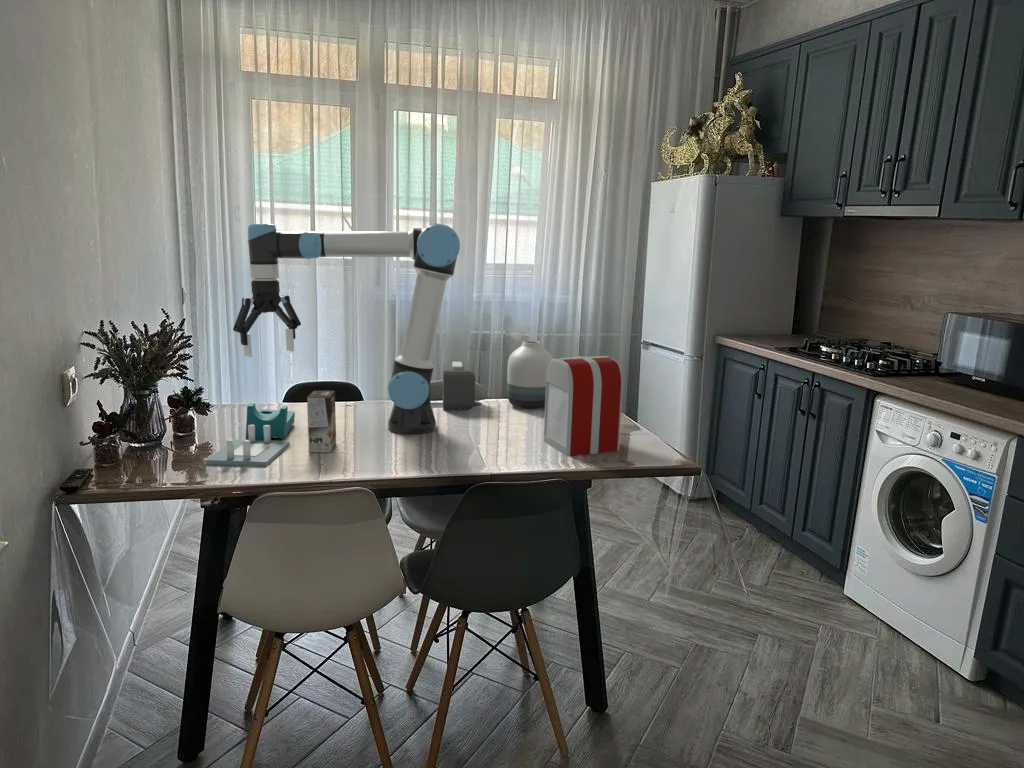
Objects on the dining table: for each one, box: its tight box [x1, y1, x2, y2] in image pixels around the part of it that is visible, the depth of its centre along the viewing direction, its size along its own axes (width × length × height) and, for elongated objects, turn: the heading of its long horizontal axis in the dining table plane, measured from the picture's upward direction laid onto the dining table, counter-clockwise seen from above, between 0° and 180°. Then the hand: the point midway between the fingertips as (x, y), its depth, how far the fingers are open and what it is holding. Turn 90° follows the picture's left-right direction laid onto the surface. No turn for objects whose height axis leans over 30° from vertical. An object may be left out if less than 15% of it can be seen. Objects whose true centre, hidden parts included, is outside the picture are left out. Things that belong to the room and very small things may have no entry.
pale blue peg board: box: [205, 425, 291, 467], centre depth 193 cm, size 16×19×6 cm
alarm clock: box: [442, 361, 476, 410], centre depth 254 cm, size 16×11×16 cm
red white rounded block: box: [543, 355, 624, 457], centre depth 207 cm, size 17×18×27 cm
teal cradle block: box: [245, 402, 296, 441], centre depth 214 cm, size 18×11×10 cm, turn 8°
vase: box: [506, 340, 554, 410], centre depth 255 cm, size 17×17×24 cm
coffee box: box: [306, 390, 337, 453], centre depth 199 cm, size 9×6×16 cm
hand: (269, 353), depth 203 cm, fingers open, 13 cm apart
